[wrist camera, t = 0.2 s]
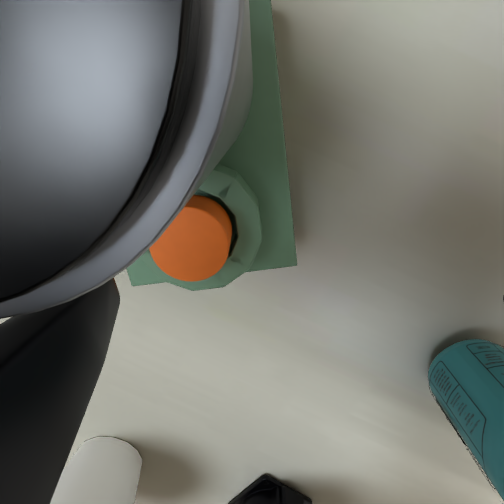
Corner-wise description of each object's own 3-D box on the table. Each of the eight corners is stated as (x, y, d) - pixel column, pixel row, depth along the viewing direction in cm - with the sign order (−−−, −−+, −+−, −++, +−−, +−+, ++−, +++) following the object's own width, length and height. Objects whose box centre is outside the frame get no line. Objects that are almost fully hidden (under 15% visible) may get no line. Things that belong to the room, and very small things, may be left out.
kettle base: (289, 239, 24) (302, 282, 18) (152, 257, 24) (119, 304, 18) (264, 3, 18) (269, -52, 12) (90, 33, 19) (14, -5, 13)
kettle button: (237, 257, 18) (235, 277, 15) (170, 265, 18) (158, 286, 16) (225, 189, 16) (221, 201, 14) (153, 200, 16) (138, 212, 14)
